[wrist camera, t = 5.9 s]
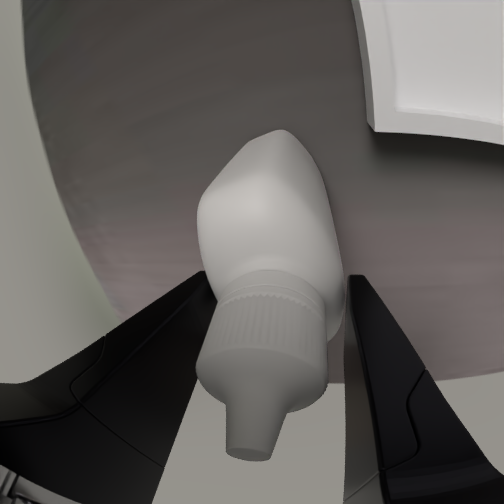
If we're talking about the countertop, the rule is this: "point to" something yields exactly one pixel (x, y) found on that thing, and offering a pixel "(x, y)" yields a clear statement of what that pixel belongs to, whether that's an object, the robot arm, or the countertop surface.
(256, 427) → the eye dropper bottle
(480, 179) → the countertop surface
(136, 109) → the countertop surface
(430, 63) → the tray
